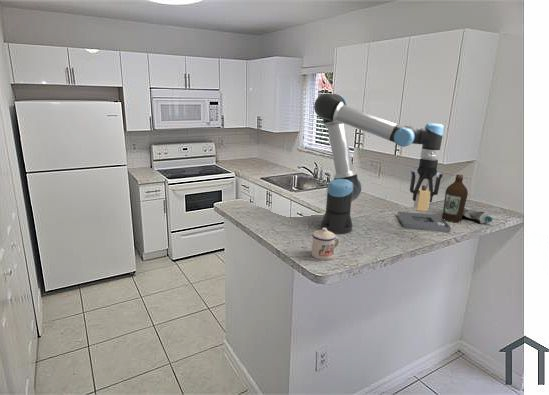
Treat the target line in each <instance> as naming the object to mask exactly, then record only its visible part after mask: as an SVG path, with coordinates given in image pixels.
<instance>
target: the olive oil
mask: <svg viewBox="0 0 549 395" xmlns="http://www.w3.org/2000/svg"><path fill="white" fill-rule="evenodd" d="M463 180H464V175H463V174H456V176H455V181H454V182H453V183H451V184H450V185H448V186H447V187H446V190H445V192H444V193H445V194H444V195H445V196H444V203H443V210H442V216H441V217H442V218H443V219H445V221H446V220H448V221H447V222H449V221H453V222H452V223H460V222H459V221H461V222H462V219H463V216H464V215H463V211H464V208H465V207H466V203H467V198H468V194H469V192H468V189H467V187H466V186H465V184H464V183H463Z"/></svg>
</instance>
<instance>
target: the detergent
mask: <svg viewBox="0 0 549 395" xmlns="http://www.w3.org/2000/svg"><path fill="white" fill-rule="evenodd" d="M462 216H463V217H466V218H468V219H472V220H476V221H477V222H479V221H480V222H481V223H484V224H486V223H491V222H493V217H491V216H490V215H489V214H488V213H487V212H486V211H477V210H474V209H467V208H465V207H464V211H463V215H462ZM480 222H479V223H480ZM485 222H486V223H485ZM481 223H480V224H481Z"/></svg>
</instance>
